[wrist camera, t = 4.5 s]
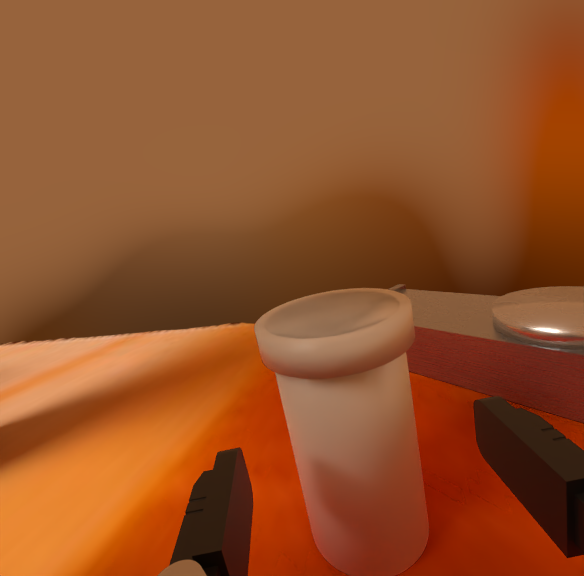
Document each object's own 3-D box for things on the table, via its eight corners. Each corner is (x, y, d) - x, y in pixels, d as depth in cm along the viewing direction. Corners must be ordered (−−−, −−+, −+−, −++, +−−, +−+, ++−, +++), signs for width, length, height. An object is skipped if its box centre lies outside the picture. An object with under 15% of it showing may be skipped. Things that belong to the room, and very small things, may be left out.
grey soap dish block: (350, 355, 32) (341, 302, 30) (403, 323, 36) (397, 277, 35) (670, 451, 16) (676, 347, 14) (691, 372, 20) (697, 289, 19)
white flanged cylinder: (277, 521, 16) (227, 326, 14) (361, 451, 19) (331, 284, 17) (378, 632, 11) (326, 360, 9) (466, 513, 15) (444, 293, 12)
